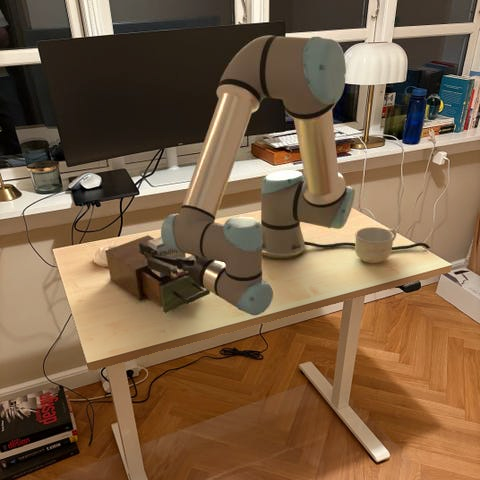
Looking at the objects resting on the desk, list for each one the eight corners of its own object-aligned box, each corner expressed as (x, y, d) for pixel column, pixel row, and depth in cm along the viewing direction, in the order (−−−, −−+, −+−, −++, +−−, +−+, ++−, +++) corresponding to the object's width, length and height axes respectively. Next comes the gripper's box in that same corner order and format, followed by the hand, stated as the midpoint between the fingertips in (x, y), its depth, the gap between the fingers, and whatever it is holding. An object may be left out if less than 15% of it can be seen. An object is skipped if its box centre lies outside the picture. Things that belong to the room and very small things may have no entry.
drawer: (219, 303, 124) (218, 278, 120) (179, 323, 117) (177, 297, 113) (173, 276, 136) (171, 252, 132) (135, 292, 129) (131, 268, 125)
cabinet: (182, 282, 135) (179, 252, 130) (140, 301, 128) (135, 269, 122) (151, 263, 144) (148, 235, 139) (110, 280, 137) (105, 250, 131)
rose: (102, 237, 149) (130, 241, 147) (104, 250, 152) (133, 254, 149) (84, 252, 141) (115, 256, 139) (87, 265, 144) (117, 269, 141)
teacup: (365, 269, 140) (369, 244, 135) (345, 253, 148) (348, 229, 143) (406, 261, 144) (411, 236, 139) (384, 245, 152) (388, 221, 147)
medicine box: (160, 278, 120) (156, 246, 115) (151, 271, 123) (147, 240, 118) (187, 268, 124) (184, 237, 119) (178, 262, 127) (175, 231, 122)
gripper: (178, 306, 106) (122, 269, 119) (248, 273, 117) (189, 243, 131) (175, 276, 101) (117, 241, 115) (248, 244, 113) (187, 216, 127)
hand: (155, 242), depth 123 cm, fingers closed on medicine box, 8 cm apart
